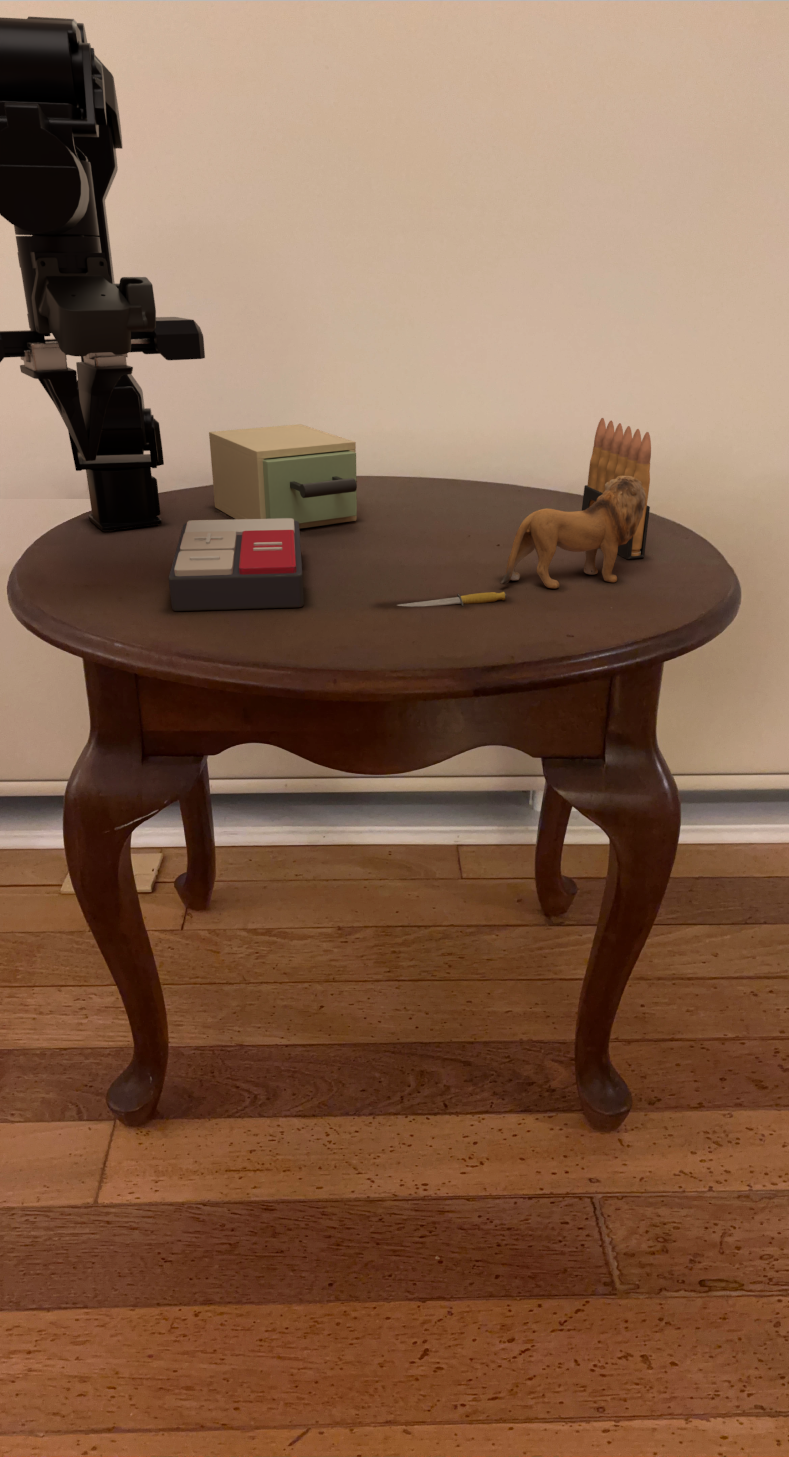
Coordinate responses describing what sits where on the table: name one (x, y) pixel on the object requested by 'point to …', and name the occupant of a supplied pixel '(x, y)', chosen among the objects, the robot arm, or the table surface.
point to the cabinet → (243, 464)
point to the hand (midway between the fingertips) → (89, 459)
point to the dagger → (462, 599)
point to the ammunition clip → (620, 474)
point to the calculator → (237, 565)
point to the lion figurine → (581, 531)
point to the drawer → (311, 486)
